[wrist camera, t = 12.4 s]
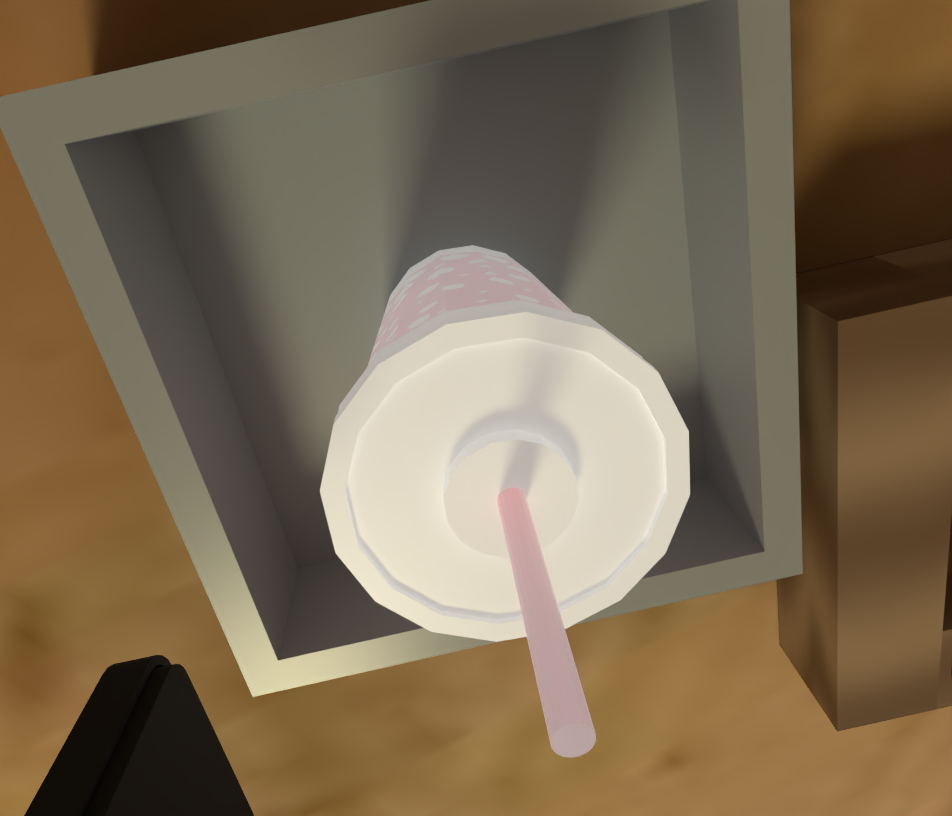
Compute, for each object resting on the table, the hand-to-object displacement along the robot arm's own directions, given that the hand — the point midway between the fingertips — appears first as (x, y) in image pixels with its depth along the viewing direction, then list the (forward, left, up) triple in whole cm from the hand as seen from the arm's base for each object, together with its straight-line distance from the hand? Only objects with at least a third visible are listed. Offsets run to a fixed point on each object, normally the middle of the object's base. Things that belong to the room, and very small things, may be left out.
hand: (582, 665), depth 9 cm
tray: (0, +1, -14) cm, 14 cm away
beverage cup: (0, 0, -13) cm, 13 cm away
